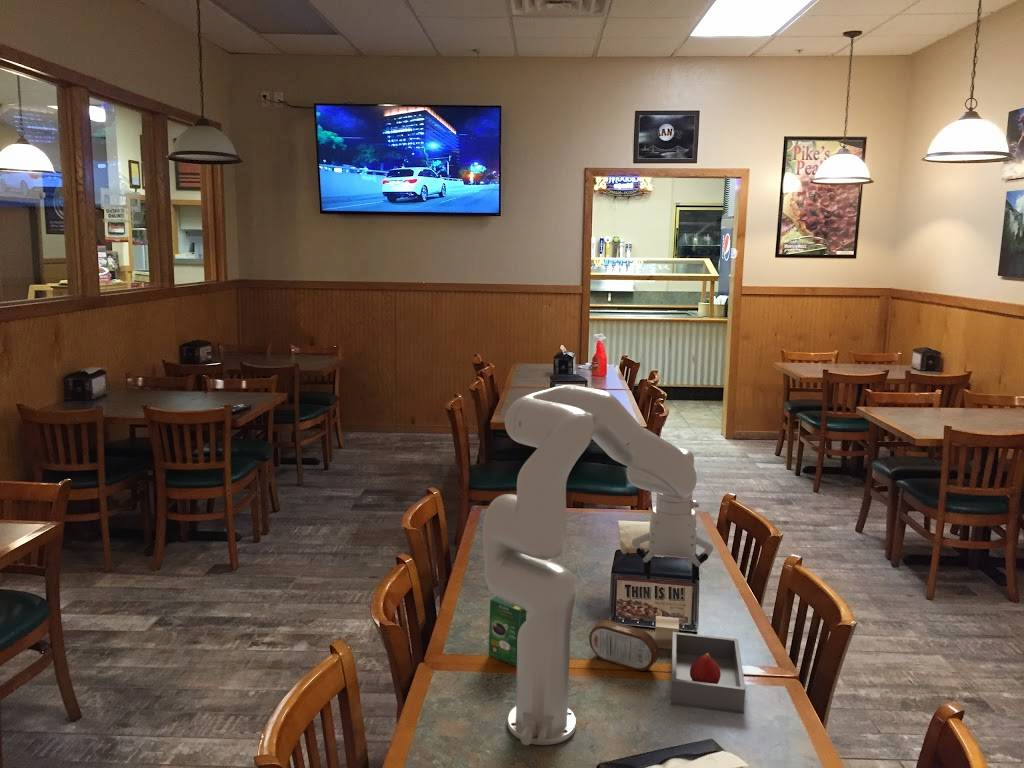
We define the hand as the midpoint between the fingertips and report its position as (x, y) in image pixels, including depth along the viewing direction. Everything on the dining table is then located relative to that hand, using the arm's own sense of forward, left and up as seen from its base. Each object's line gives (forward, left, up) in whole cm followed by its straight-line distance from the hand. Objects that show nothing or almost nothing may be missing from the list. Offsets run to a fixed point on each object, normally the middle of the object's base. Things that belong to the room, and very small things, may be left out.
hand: (670, 579), depth 174 cm
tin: (-11, +9, -15) cm, 21 cm away
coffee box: (-15, +33, -15) cm, 40 cm away
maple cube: (0, 0, -15) cm, 15 cm away
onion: (-19, -7, -15) cm, 25 cm away
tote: (-15, -8, -15) cm, 22 cm away
